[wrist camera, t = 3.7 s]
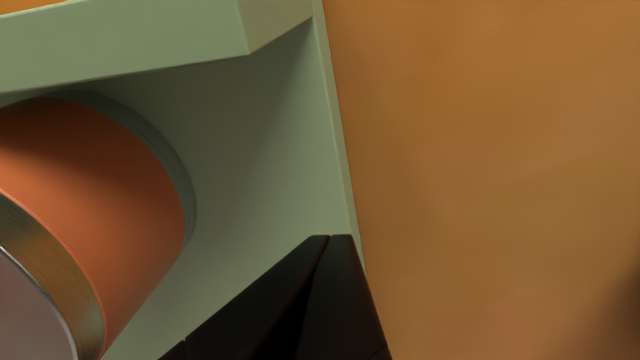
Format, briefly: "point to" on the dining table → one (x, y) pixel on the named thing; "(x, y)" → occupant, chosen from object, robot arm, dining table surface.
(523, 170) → the dining table surface
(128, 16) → the green corner tray
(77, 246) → the tin can
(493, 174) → the dining table surface
